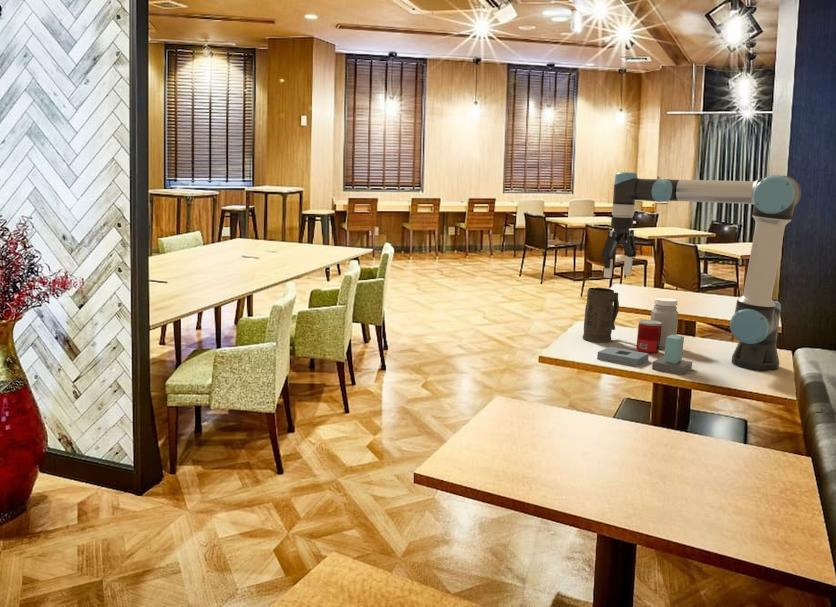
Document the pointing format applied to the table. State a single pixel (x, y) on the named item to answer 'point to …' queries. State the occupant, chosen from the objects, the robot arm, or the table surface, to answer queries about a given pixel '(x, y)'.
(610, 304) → the beer stein
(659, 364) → the hollow square frame
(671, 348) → the plug
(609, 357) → the port panel
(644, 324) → the canned food
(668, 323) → the jar
